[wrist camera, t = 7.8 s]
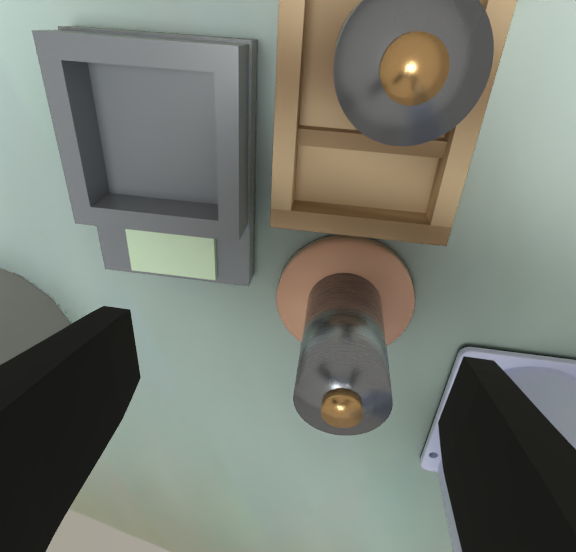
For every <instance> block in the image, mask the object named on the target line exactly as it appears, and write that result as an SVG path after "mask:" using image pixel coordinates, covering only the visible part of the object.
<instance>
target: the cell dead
mask: <svg viewBox="0 0 576 552" xmlns="http://www.w3.org/2000/svg"><path fill="white" fill-rule="evenodd" d="M293 401H294V405H295V408H296V410H297V412H298V414H299V415H300V416H301V418H302V419H303V420H304V421H306V422H307V423H308V424H309V425H311V426H313V427H314V428H316V429H318V430H321V431H323V432H326V433H330V434H335V435H357V434H362V433H366V432H369V431H371V430H373V429H375V428H377V427H378V426H380V425H381V424H382V423H383V422H385V420H386V419H387V418H388V416H389V415H390V412H391V410H392V393H391V384H390V375H389V366H388V357H387V348H386V340H385V331H384V322H383V313H382V304H381V297H380V294H379V292H378V290H377V289H376V287H375V286H374V285H373V284H372V283H371V282H370V281H369V280H367V279H365V278H364V277H362V276H359V275H356V274H352V273H336V274H332V275H329V276H326V277H324V278H323V279H321V280H320V281H318V282H317V283H316V284H315V285H314V287H313V288H312V290H311V291H310V294H309V297H308V303H307V310H306V317H305V323H304V330H303V336H302V343H301V349H300V356H299V363H298V369H297V376H296V382H295V389H294V396H293Z"/></svg>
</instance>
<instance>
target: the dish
mask: <svg viewBox="0 0 576 552" xmlns="http://www.w3.org/2000/svg"><path fill="white" fill-rule="evenodd" d="M336 273H352V274H356V275H359V276H362V277H364V278H365V279H367V280H369V281H370V282H371V283H372V284H373V285H374V286H375V287H376V289H377V290H378V292H379V294H380V297H381V304H382V313H383V322H384V331H385V340H386V346H387V345H389V344H390V343H392V342H393V341H394V340H396V339H397V338H398V337H399V336H400V335H401V334H402V333H403V332H404V330H405V329H406V327H407V326H408V324H409V322H410V320H411V318H412V315H413V312H414V307H415V294H414V288H413V284H412V280H411V277H410V274H409V272H408V270H407V268H406V266H405V264H404V263H403V261H402V260H401V259H400V258H399V257H398V256H397V255H396V254H395V253H394V252H393V251H392V250H391V249H389V248H388V247H386V246H385V245H383V244H381V243H379V242H377V241H375V240H372V239H369V238H366V237H358V236H348V235H334V236H329V237H324V238H321V239H318V240H315V241H313V242H311V243H309V244H307V245H306V246H304V247H303V248H301V249H300V250H299V251H298V252H296V253H295V254H294V255H293V256H292V257H291V259H290V260H289V261H288V263H287V264H286V266H285V268H284V270H283V272H282V275H281V278H280V282H279V285H278V289H277V307H278V312H279V315H280V317H281V319H282V321H283V323H284V325H285V326H286V328H287V329H288V331H289V332H290V333H291V334H292V335H293V336H294V337H295V338H296V339H298V340H299V341H300V342H302V336H303V330H304V323H305V317H306V310H307V303H308V297H309V294H310V291H311V290H312V288H313V287H314V285H315V284H316V283H317V282H318V281H320V280H321V279H323V278H324V277H326V276H329V275H332V274H336Z"/></svg>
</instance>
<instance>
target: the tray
mask: <svg viewBox="0 0 576 552" xmlns="http://www.w3.org/2000/svg"><path fill="white" fill-rule="evenodd" d="M361 1H362V0H279V16H278V40H277V65H276V90H275V115H274V140H273V165H272V190H271V215H270V227H274V228H284V229H293V230H302V231H311V232H321V233H330V234H339V235H348V236H358V237H367V238H376V239H385V240H395V241H404V242H413V243H422V244H432V245H441V246H447V242H448V239H449V235H450V232H451V228H452V225H453V222H454V218H455V215H456V211H457V208H458V204H459V201H460V197H461V194H462V190H463V187H464V183H465V180H466V176H467V173H468V169H469V166H470V163H471V159H472V156H473V152H474V149H475V145H476V142H477V138H478V135H479V131H480V128H481V124H482V121H483V117H484V114H485V110H486V107H487V104H488V100H489V97H490V93H491V90H492V86H493V83H494V79H495V76H496V72H497V69H498V65H499V62H500V58H501V55H502V51H503V48H504V45H505V41H506V38H507V34H508V31H509V27H510V24H511V20H512V17H513V13H514V10H515V6H516V3H517V0H480V2H481V4H482V5H483V7H484V8H485V10H486V13H487V15H488V17H489V20H490V24H491V27H492V32H493V40H494V55H493V63H492V68H491V72H490V76H489V79H488V82H487V84H486V87H485V89H484V91H483V93H482V95H481V97H480V99H479V100H478V102H477V103H476V105H475V106H474V108H473V109H472V110H471V111H470V113H469V114H468V115H467V116H466V117H465V118H464V119H463V120H462V121H461V122H460V123H459V124H458V125H457V126H455V127H454V128H453V129H452V130H450V131H449V132H447V133H445V134H444V135H442V136H440V137H438V138H436V139H434V140H432V141H429V142H426V143H423V144H419V145H414V146H391V145H386V144H382V143H379V142H376V141H374V140H372V139H370V138H368V137H367V136H365V135H364V134H362V133H361V132H360V131H359V130H358V129H356V128H355V127H354V126H353V125H352V123H351V122H350V121H349V120H348V118H347V117H346V115H345V114H344V112H343V110H342V108H341V106H340V104H339V101H338V98H337V95H336V91H335V85H334V74H333V68H334V57H335V49H336V43H337V38H338V34H339V31H340V29H341V27H342V24H343V22H344V21H345V19H346V17H347V16H348V15H349V13H350V12H351V11H352V10H353V9H354V8H355V7H356V6H357V5H358V4H359V3H360V2H361Z"/></svg>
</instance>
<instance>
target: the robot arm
mask: <svg viewBox="0 0 576 552" xmlns="http://www.w3.org/2000/svg"><path fill="white" fill-rule="evenodd" d="M139 380H140V371H139V365H138V358H137V352H136V345H135V338H134V332H133V325H132V319H131V312H130V310H129V309H121V308H114V307H107V306H103V307H101V308H99V309H97V310H95V311H93V312H91V313H90V314H88V315H86V316H84V317H83V318H81V319H79V320H77V321H76V322H74V323H72V324H70V325H69V326H67V327H65V328H64V329H62V330H60V331H58V332H57V333H55V334H53V335H52V336H50V337H48V338H46V339H45V340H43V341H41V342H40V343H38V344H36V345H34V346H33V347H31V348H29V349H27V350H26V351H24V352H22V353H20V354H19V355H17V356H15V357H14V358H12V359H10V360H8V361H6V362H5V363H3V364H1V365H0V552H46V550H47V548H48V546H49V544H50V541H51V540H52V538H53V536H54V534H55V532H56V530H57V529H58V527H59V525H60V523H61V521H62V520H63V518H64V516H65V514H66V513H67V511H68V509H69V508H70V506H71V504H72V503H73V501H74V499H75V498H76V496H77V494H78V493H79V491H80V489H81V488H82V486H83V484H84V483H85V481H86V479H87V478H88V476H89V474H90V473H91V471H92V469H93V468H94V466H95V464H96V463H97V461H98V459H99V458H100V456H101V454H102V453H103V451H104V449H105V448H106V446H107V444H108V443H109V441H110V439H111V438H112V436H113V434H114V433H115V431H116V429H117V427H118V426H119V424H120V422H121V420H122V419H123V416H124V414H125V412H126V410H127V408H128V405H129V403H130V401H131V399H132V396H133V394H134V392H135V389H136V387H137V385H138V382H139ZM420 464H421V467H422V468H423V469H425V470H428V471H435V472H438V477H439V482H440V487H441V492H442V497H443V502H444V508H445V513H446V518H447V523H448V528H449V533H450V538H451V544H452V549H453V552H576V360H572V359H564V358H556V357H548V356H540V355H532V354H524V353H516V352H508V351H500V350H492V349H484V348H476V347H465V348H463V349H461V350H460V351H459V353H458V355H457V358H456V361H455V363H454V366H453V369H452V372H451V374H450V377H449V380H448V383H447V386H446V388H445V391H444V394H443V397H442V400H441V402H440V405H439V408H438V411H437V414H436V416H435V419H434V422H433V425H432V428H431V430H430V433H429V436H428V439H427V441H426V444H425V447H424V450H423V453H422V455H421V458H420Z"/></svg>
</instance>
